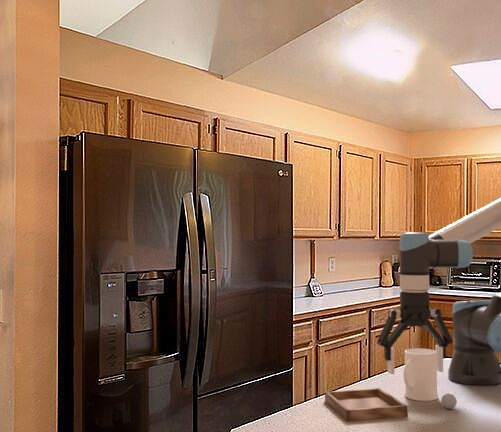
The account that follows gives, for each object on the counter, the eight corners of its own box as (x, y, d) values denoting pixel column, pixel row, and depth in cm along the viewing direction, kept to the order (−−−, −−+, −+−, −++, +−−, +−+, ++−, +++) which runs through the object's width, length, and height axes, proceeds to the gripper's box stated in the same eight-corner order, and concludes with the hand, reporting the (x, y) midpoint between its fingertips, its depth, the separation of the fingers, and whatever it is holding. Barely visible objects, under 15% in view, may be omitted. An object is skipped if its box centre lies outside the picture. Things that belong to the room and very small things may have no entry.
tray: (379, 397, 160) (379, 388, 160) (407, 416, 144) (407, 405, 144) (325, 401, 158) (324, 392, 158) (347, 421, 141) (347, 410, 141)
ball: (452, 406, 152) (451, 391, 152) (459, 410, 148) (459, 395, 148) (438, 407, 151) (438, 392, 151) (446, 411, 147) (445, 396, 147)
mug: (416, 405, 153) (415, 357, 153) (389, 398, 160) (388, 352, 160) (445, 397, 160) (443, 351, 160) (418, 390, 167) (417, 346, 167)
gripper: (450, 288, 166) (451, 366, 166) (364, 290, 162) (365, 370, 161) (465, 291, 159) (466, 373, 158) (375, 293, 155) (376, 377, 154)
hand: (415, 372), depth 160 cm, fingers open, 13 cm apart
